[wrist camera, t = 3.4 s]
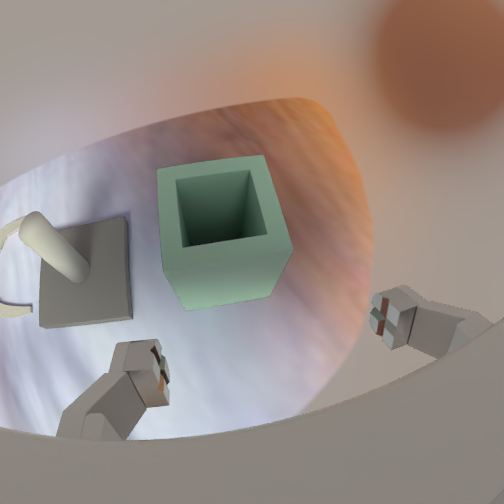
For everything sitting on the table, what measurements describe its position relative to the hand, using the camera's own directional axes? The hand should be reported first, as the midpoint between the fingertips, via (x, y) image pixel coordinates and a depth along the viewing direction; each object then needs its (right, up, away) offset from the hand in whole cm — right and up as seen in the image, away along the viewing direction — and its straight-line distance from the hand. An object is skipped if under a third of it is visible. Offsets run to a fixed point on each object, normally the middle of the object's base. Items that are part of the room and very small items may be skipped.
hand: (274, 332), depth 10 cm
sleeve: (-3, +2, +11) cm, 12 cm away
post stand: (-14, +1, +10) cm, 17 cm away
